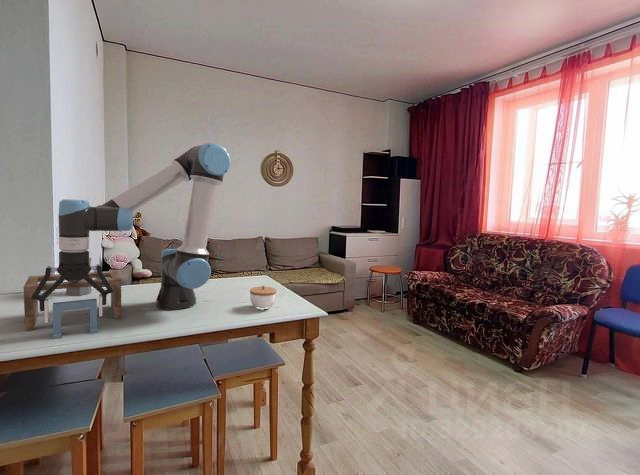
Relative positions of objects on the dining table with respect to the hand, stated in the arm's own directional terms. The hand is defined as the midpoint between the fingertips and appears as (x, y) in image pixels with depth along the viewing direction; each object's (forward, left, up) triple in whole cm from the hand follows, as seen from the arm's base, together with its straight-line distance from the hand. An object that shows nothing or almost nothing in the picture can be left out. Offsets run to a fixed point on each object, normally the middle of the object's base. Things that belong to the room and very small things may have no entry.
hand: (74, 318), depth 106 cm
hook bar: (+10, -13, +9) cm, 19 cm away
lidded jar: (-51, -37, -5) cm, 63 cm away
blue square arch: (0, 0, -5) cm, 5 cm away
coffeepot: (+29, -39, -5) cm, 49 cm away
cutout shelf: (+10, -13, -5) cm, 17 cm away
